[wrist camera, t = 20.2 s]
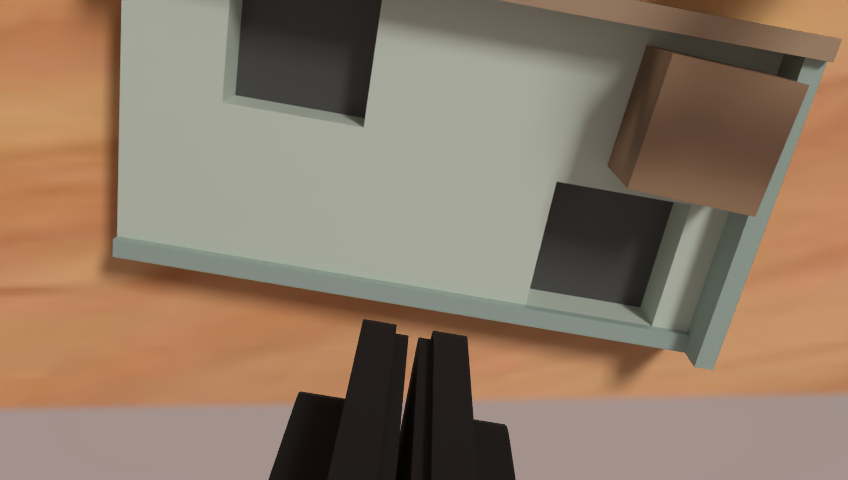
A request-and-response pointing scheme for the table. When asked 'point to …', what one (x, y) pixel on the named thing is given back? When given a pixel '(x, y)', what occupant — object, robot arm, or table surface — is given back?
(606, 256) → the board
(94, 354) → the table surface
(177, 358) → the table surface
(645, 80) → the walnut block
